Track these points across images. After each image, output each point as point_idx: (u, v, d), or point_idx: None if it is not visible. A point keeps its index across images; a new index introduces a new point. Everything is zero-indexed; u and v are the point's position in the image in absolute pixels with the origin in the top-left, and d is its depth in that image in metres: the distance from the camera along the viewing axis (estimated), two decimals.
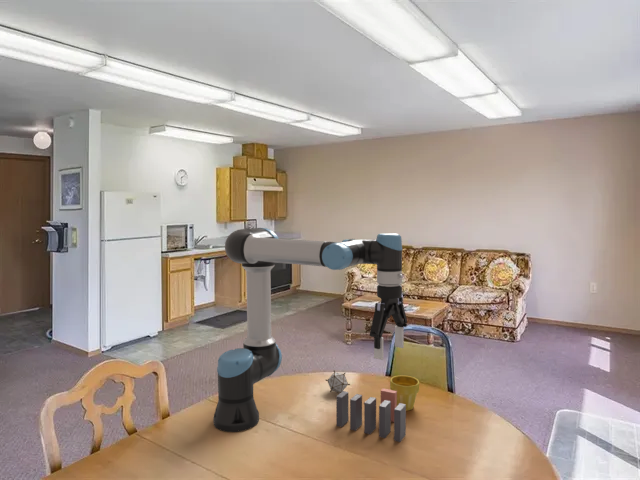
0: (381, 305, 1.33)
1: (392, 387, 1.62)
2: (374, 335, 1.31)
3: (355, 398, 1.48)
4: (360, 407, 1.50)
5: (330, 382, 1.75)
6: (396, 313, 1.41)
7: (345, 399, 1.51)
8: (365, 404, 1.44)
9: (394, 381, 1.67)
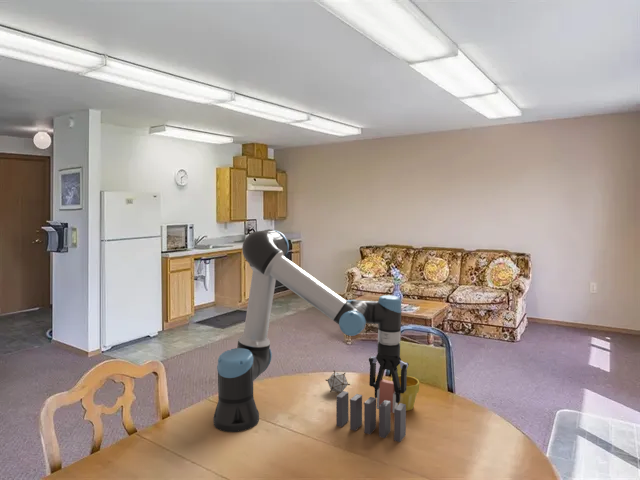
0: None
1: None
2: None
3: (355, 398, 1.48)
4: (360, 407, 1.50)
5: (330, 382, 1.75)
6: None
7: (345, 399, 1.51)
8: (365, 404, 1.44)
9: None
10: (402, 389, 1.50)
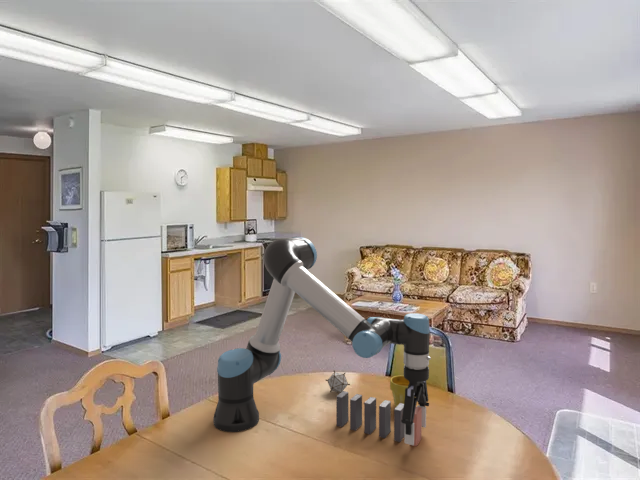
0: (411, 391, 1.32)
1: (392, 387, 1.62)
2: (407, 423, 1.31)
3: (355, 398, 1.48)
4: (360, 407, 1.50)
5: (330, 382, 1.75)
6: (421, 393, 1.41)
7: (345, 399, 1.51)
8: (365, 404, 1.44)
9: (394, 381, 1.67)
10: (427, 398, 1.46)
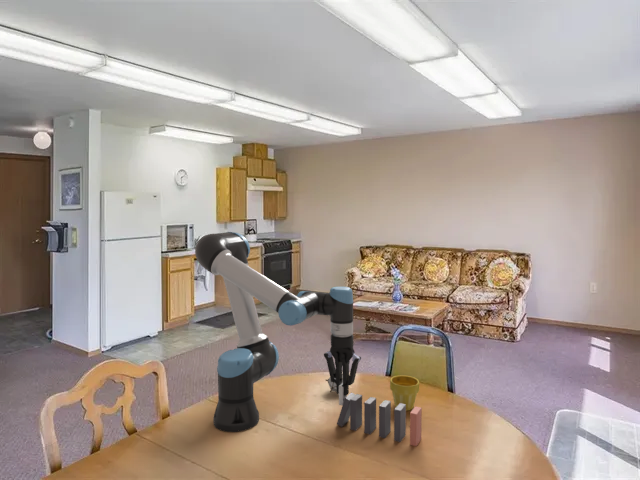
0: None
1: (392, 387, 1.62)
2: None
3: (355, 398, 1.48)
4: (360, 407, 1.50)
5: (330, 382, 1.75)
6: None
7: None
8: (365, 404, 1.44)
9: (394, 381, 1.67)
10: (349, 381, 1.48)
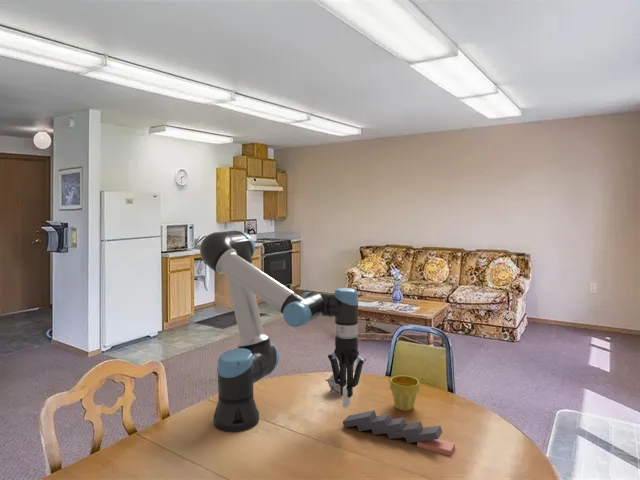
0: None
1: (392, 387, 1.62)
2: None
3: (387, 421, 1.43)
4: None
5: (330, 382, 1.75)
6: None
7: None
8: (398, 425, 1.40)
9: (394, 381, 1.67)
10: (354, 383, 1.48)
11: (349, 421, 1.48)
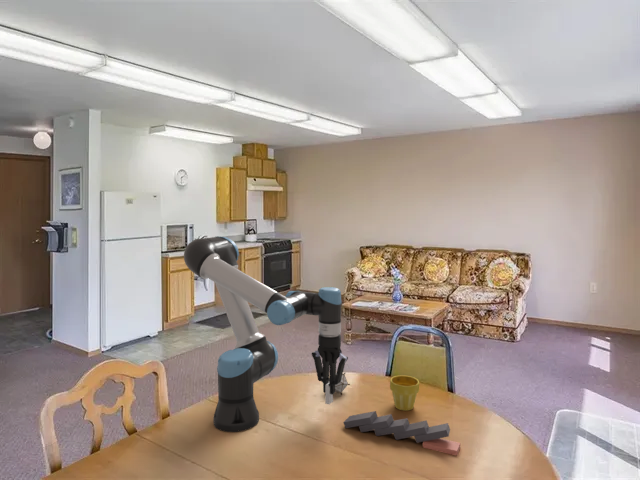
0: None
1: (392, 387, 1.62)
2: None
3: (389, 422, 1.43)
4: None
5: None
6: None
7: None
8: (402, 426, 1.39)
9: (394, 381, 1.67)
10: (336, 381, 1.51)
11: (350, 422, 1.47)
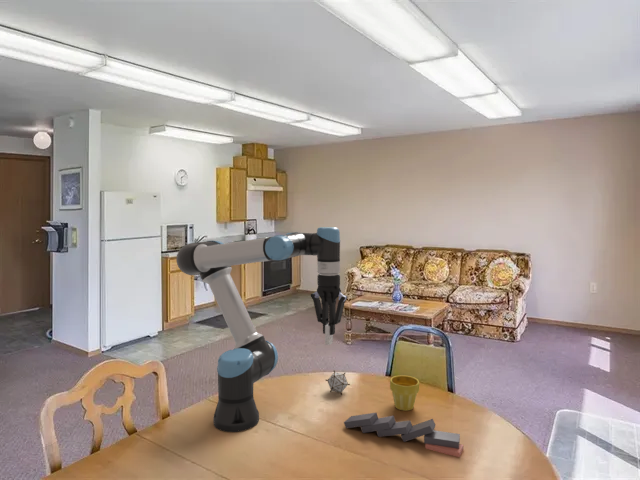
0: None
1: (392, 387, 1.62)
2: None
3: (391, 424, 1.42)
4: None
5: (330, 382, 1.75)
6: None
7: None
8: (404, 429, 1.39)
9: (394, 381, 1.67)
10: (336, 320, 1.49)
11: (350, 422, 1.47)
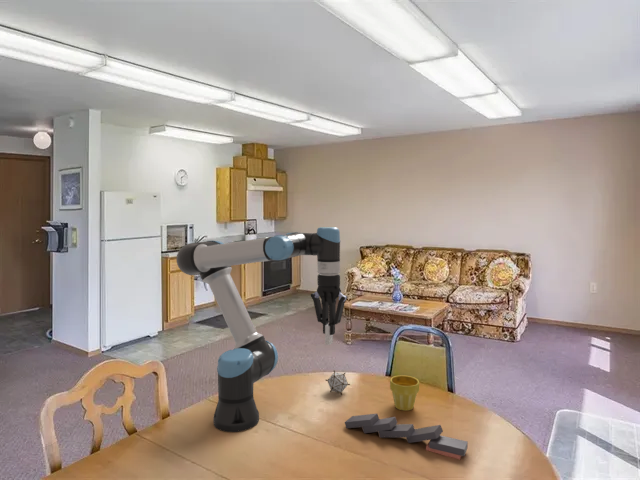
0: None
1: (392, 387, 1.62)
2: None
3: (392, 425, 1.41)
4: None
5: (330, 382, 1.75)
6: None
7: None
8: (406, 432, 1.38)
9: (394, 381, 1.67)
10: (336, 320, 1.49)
11: (351, 422, 1.47)
